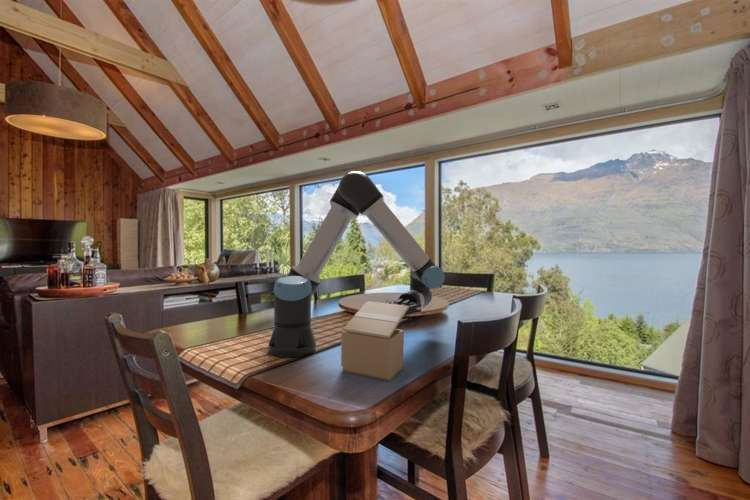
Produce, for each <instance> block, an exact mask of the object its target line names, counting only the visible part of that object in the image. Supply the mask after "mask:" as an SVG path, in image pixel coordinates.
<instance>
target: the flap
mask: <svg viewBox="0 0 750 500" xmlns="http://www.w3.org/2000/svg"><path fill="white" fill-rule="evenodd" d="M408 308H409V307H408V306H405V305H397V304H388V303H386V302H377V301H371V300H368V301H365V303H364V304H363V305H362V306H361V307H360V308H359V310H358V311H357V312H356V313H355V314H354V315H353V317H352V318H350V320H349V322H348V323H347V324H346V325H345V326H344V327H343V331H346V332H352V333H359V334H365V335H371V336H377V337H383V338H390V337H391V335H392V333H393V332H394V330H395V329H397V327H398V325H399V324H400V323H401V321H402V319H403V318H404V317H405V316H404V315H405V313H406V312H407V310H408Z"/></svg>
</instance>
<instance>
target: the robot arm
mask: <svg viewBox="0 0 750 500" xmlns="http://www.w3.org/2000/svg"><path fill="white" fill-rule="evenodd" d="M384 198H385V197H384V195H383V193H382V192H381V191H380V189H378V187H377V186H376V184H375V183H374V182H373V180H372V179H371V178H370V177H369V176H368V175H367V174H366V173H364V172H362V171H357V170H353V171H350V172H347V173H346V174H344V175H343V176H342V177H341V179H340V181H339V185H338V186H337V188H336V190H335V191H334V193H333V195H332V196H331V199H330V200H329V205H330V208H329V210H328V212H327V213H326V216H325V217H324V219H323V221H322V223H321V224H320V226H319V228H318V230H317V232H315V235H314V236H313V238H312V240H311V241H310V244H309V245H308V247H307V249H306V251H305V252H304V254H303V256H302V258H301V260H300V261H299V263H298V264H296V265H293V266H292V267H291V269H290V270H289V271H288V273H287V276H283V277H280V278H277V279H276V280H275V282H274V285H273V286H274V287H273V294H274V295H273V301H274V302H273V303H274V304H273V305H274V307H273V310H274V312H273V329H272V332H271V336H270V339H269V341H268V353H269V354H270V355H271V356H274V357H276V358H298V357H304V356H308V355H310V354H312V353H314V352H315V351H316V349H317V341H316V338H315V335H314V332H313V329H312V326H311V325H312V299H313V296H314V295H315V293H316V291H317V289H318V287H319V285H320V284H321V278H320V276H321V274H322V272H323V270H324V268H325V267H326V265H327V263H328V261H329V259H330V258H331V256H332V255H333V252H334V251H335V249H336V248H337V246H338V244H339V242H340V241H341V239H342V237H343V235H344V233H345V232H346V229H347V228H348V227H349V224H350V223H351V221H352V220H353V219H357V218H358V217H359V215H362V216H366V217H367V219H368V220H369V221H370V222H371V224H372V225H373V226H374V227H375V228H376V230H377V231H378V232H379V233H380V234H381V236H383V238H384V239H385V240H386V241H387V242H388V244H389V245H390V246H391V247H392V248H393V250H394V251H395V252H396V253H397V255H398V256H399V257H400V258H401V259H402V261H404V263H405V264H406V266H407V267H408V268H409V274H410V275H409V277H410V278H409V291H406V292H404V293H401V295H400V296H399V297H398V299H396V300H394V301H393V302H392V301H391V300H389V299H387V300H385V303H388V304H397V305H405V306H408V307H409V308H408V310H407V312H406V313H405V315H404V316H403V317H406V316H408V315H412V314H415V313H421V312H422V308H425V307H426V306H428V305H429V304H430V303H431V302H432V301H433V300H432V299H433V292H432V291H431V289H438V288H440V287H441V286H442V285H443V284H444V282H445V278H446V276H445V275H446V274H445V272H444V270H443V269H442V268H440V267H439V266H438V265H436V264H435V262H433V260H432V259H431V258H430V257H429V255H428V254H427V253H426V251H425V250H424V249H423V248H422V247H421V246H420V244H419V243H418V242H417V240H416V239H415V238H414V237H413V236H412V234H411V232H410V231H408V229H407V228H406V227H405V225H403V223H402V222H401V221H400V219H399V218H398V217H397V216H396V215H395V213H394V212H393V211H392V210H391V208H390V207H389V206H388V205H387V203H386V202H385V201H384Z"/></svg>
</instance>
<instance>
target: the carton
mask: <svg viewBox="0 0 750 500" xmlns="http://www.w3.org/2000/svg"><path fill="white" fill-rule="evenodd" d="M340 339H341V342H340V344H341V346H340V347H341V348H340V351H341V352H340V366H341V367H342V372H345V373H347V374H348V373H349V374H353V375H357V376H362V377H368V378H371V379H376V380H381V381H385V382H390V381H391V380H392V379H393V378H394V377H396V376H397V375H398V374H399V373H400V372H401V371H402V370H403V369H404V347H405V346H404V344H405V342H404V341H405V330H404V329H398V328H396V329H395V330H394V332H393V333H392V335H391V337H390V338H383V337H377V336H371V335H365V334H359V333H352V332H346V331H344V330H343V331H341V338H340Z"/></svg>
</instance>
